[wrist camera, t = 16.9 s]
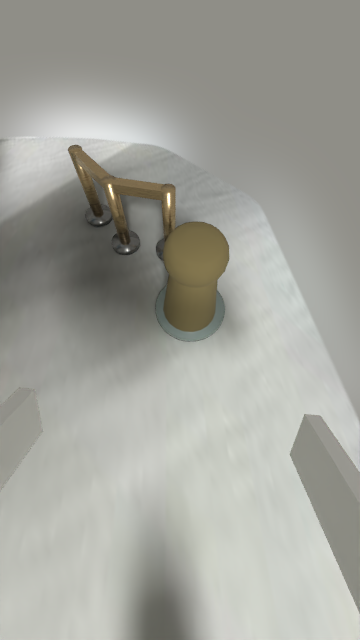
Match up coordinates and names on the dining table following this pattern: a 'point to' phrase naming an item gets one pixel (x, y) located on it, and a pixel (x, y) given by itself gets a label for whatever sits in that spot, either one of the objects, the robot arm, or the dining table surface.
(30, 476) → the dining table surface
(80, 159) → the rail
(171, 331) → the coaster
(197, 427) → the dining table surface
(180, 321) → the cork
